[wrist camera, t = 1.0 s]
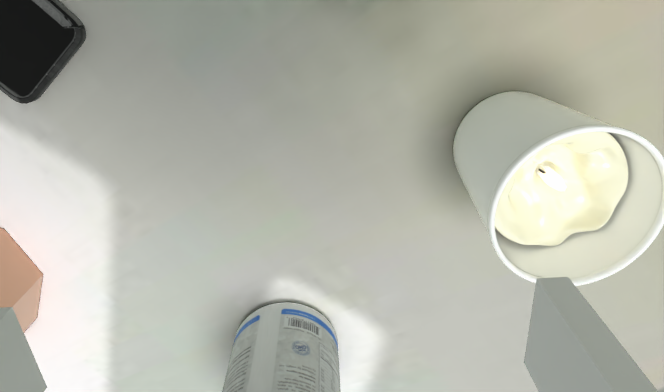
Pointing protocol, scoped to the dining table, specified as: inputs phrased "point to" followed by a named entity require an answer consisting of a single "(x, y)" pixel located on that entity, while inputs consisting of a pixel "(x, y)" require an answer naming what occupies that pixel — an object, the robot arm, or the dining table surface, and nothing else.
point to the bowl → (18, 281)
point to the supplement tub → (284, 352)
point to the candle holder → (559, 187)
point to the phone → (35, 45)
